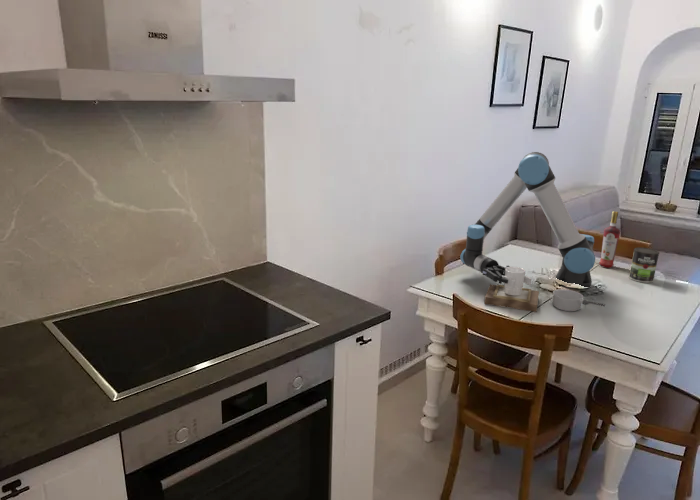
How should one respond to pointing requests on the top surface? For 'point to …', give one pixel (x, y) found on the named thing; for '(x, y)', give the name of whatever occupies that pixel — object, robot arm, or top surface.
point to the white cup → (517, 276)
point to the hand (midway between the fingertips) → (522, 282)
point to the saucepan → (570, 300)
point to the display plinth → (512, 298)
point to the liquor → (610, 243)
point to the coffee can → (644, 265)
